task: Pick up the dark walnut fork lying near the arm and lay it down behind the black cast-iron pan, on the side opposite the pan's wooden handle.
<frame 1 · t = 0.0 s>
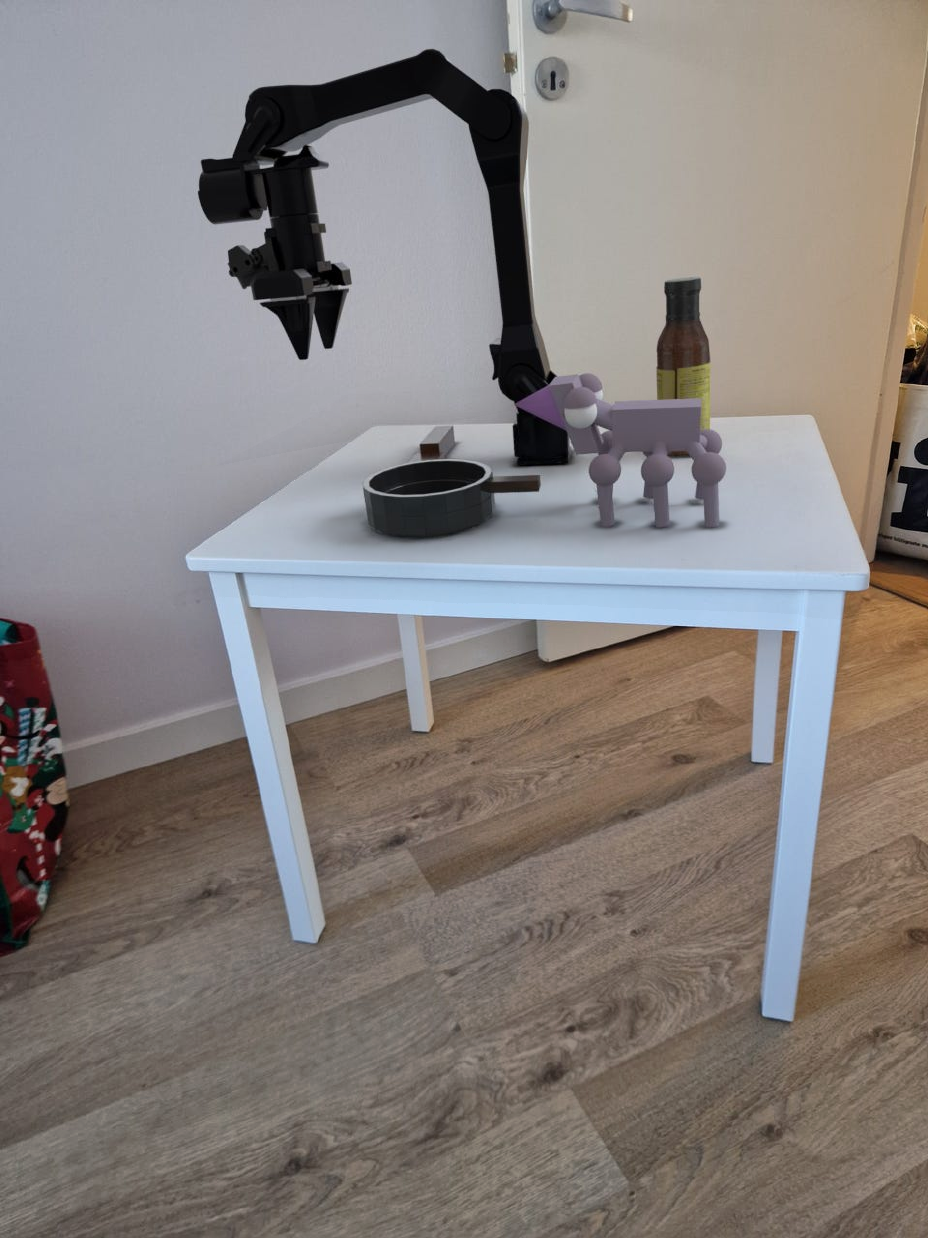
hand: (316, 353, 99), 15 cm above the table, tool pointing down, fingers open, 9 cm apart
fork: (435, 456, 106), on the table
pan handle: (515, 483, 80), point 3 cm above the table
toy sheep: (618, 515, 79), on the table
sauce bottle: (681, 452, 98), on the table
pan: (431, 517, 83), on the table
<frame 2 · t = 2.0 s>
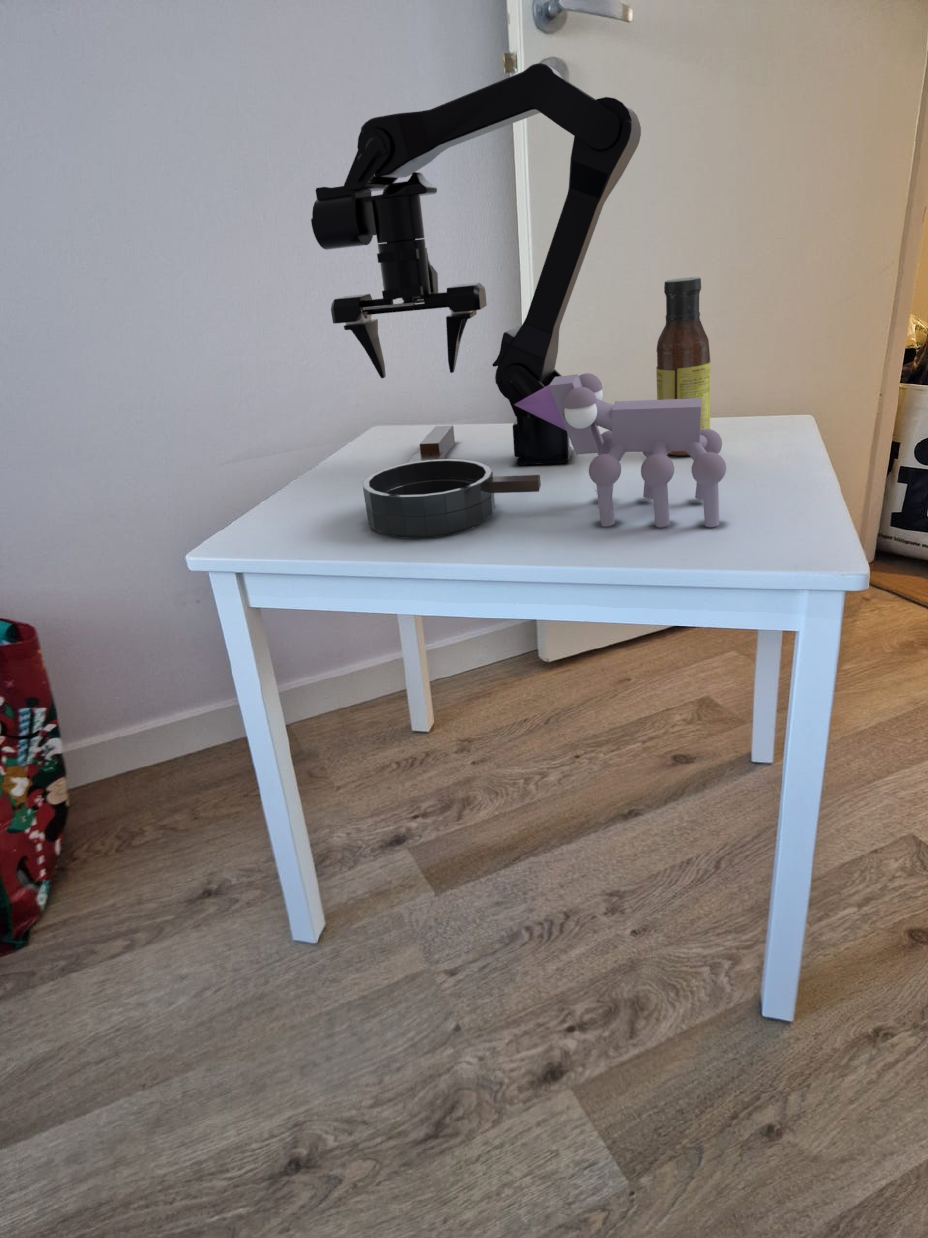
hand: (417, 374, 101), 11 cm above the table, tool pointing down, fingers open, 9 cm apart
nothing on the table moved.
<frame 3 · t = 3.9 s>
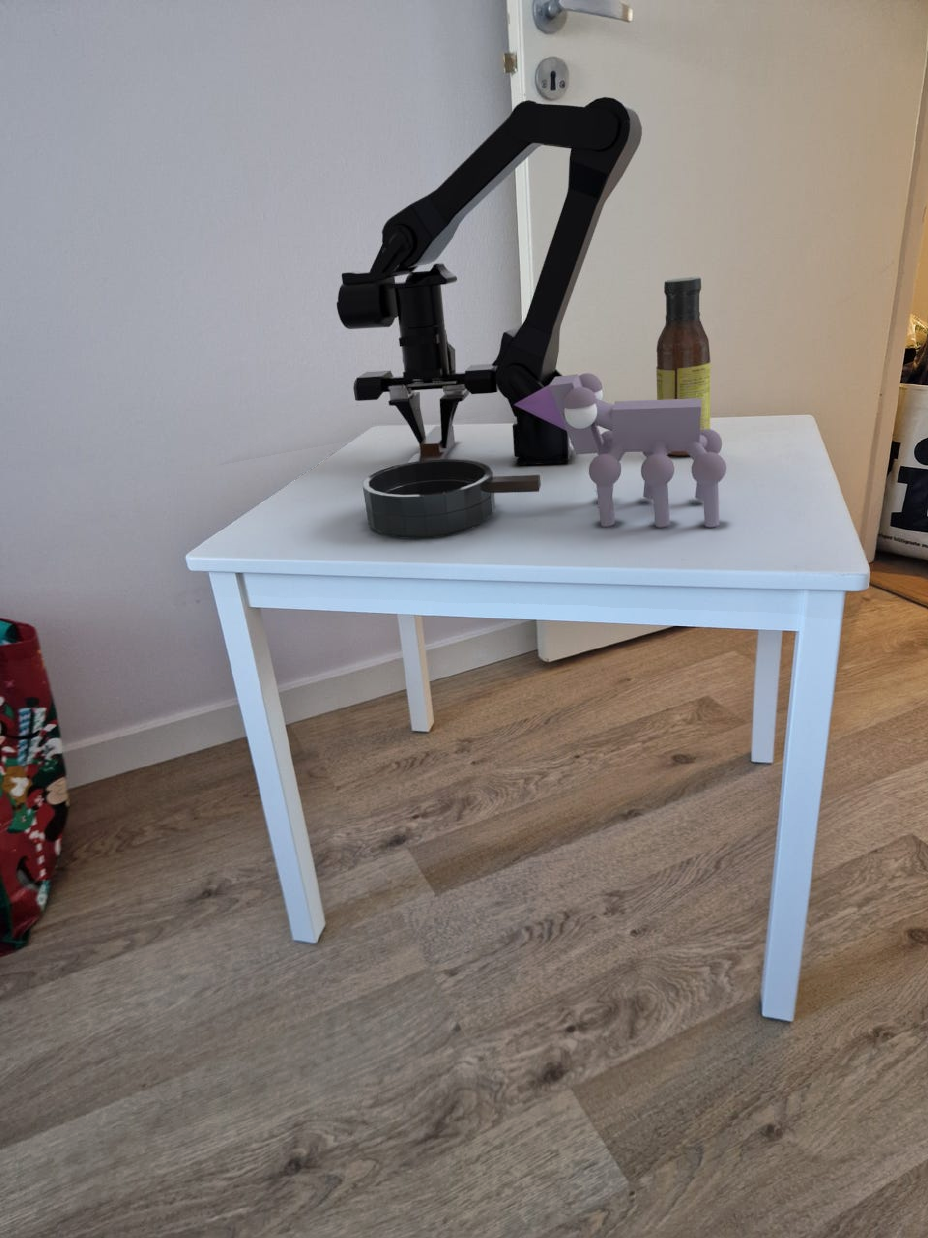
hand: (435, 447, 105), 1 cm above the table, tool pointing down, fingers closed on fork, 2 cm apart
fork: (435, 456, 106), on the table, touching gripper
everything else where it was.
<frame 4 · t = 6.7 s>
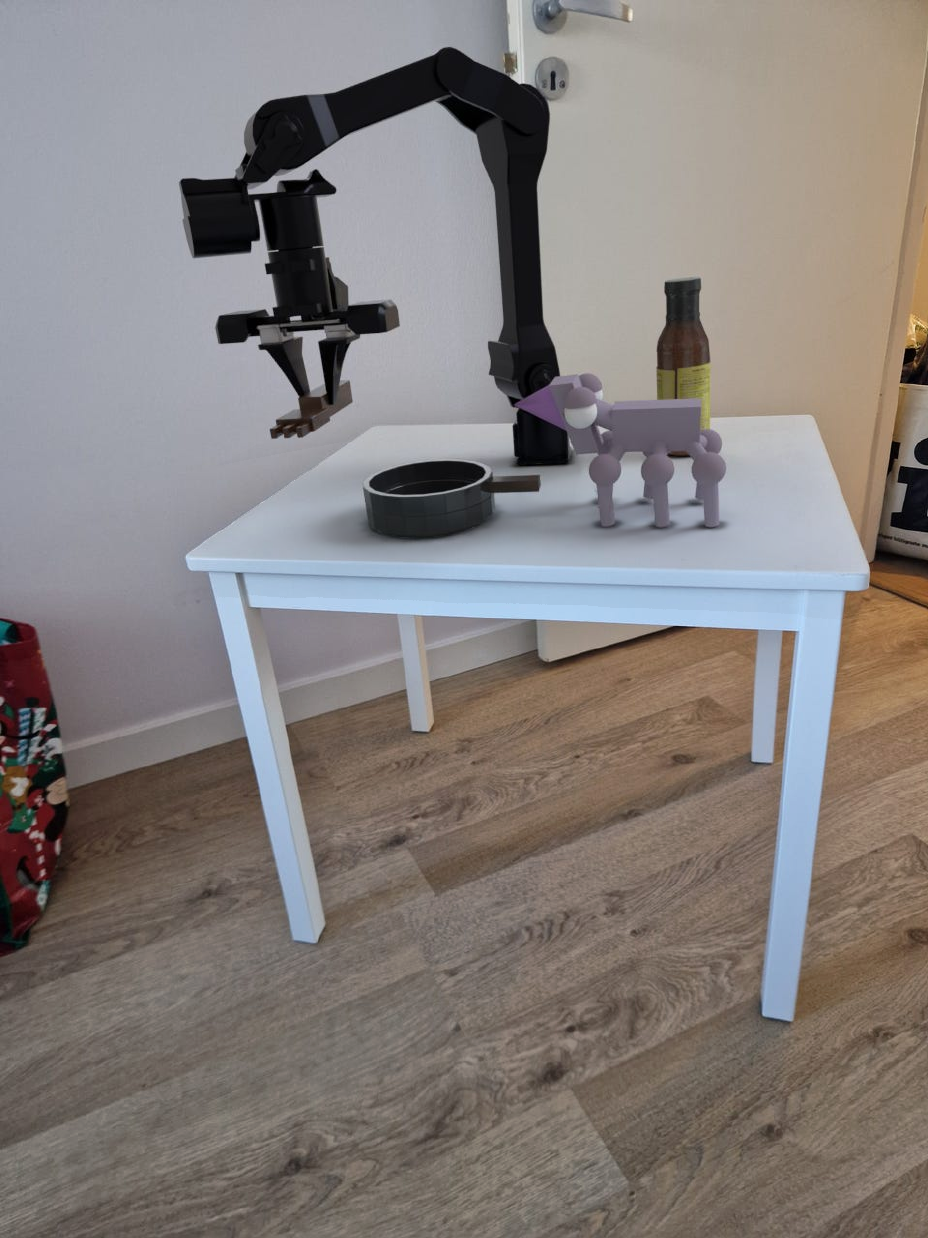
hand: (320, 404, 87), 11 cm above the table, tool pointing down, fingers closed on fork, 2 cm apart
fork: (322, 415, 87), point 10 cm above the table, touching gripper
everything else where it was.
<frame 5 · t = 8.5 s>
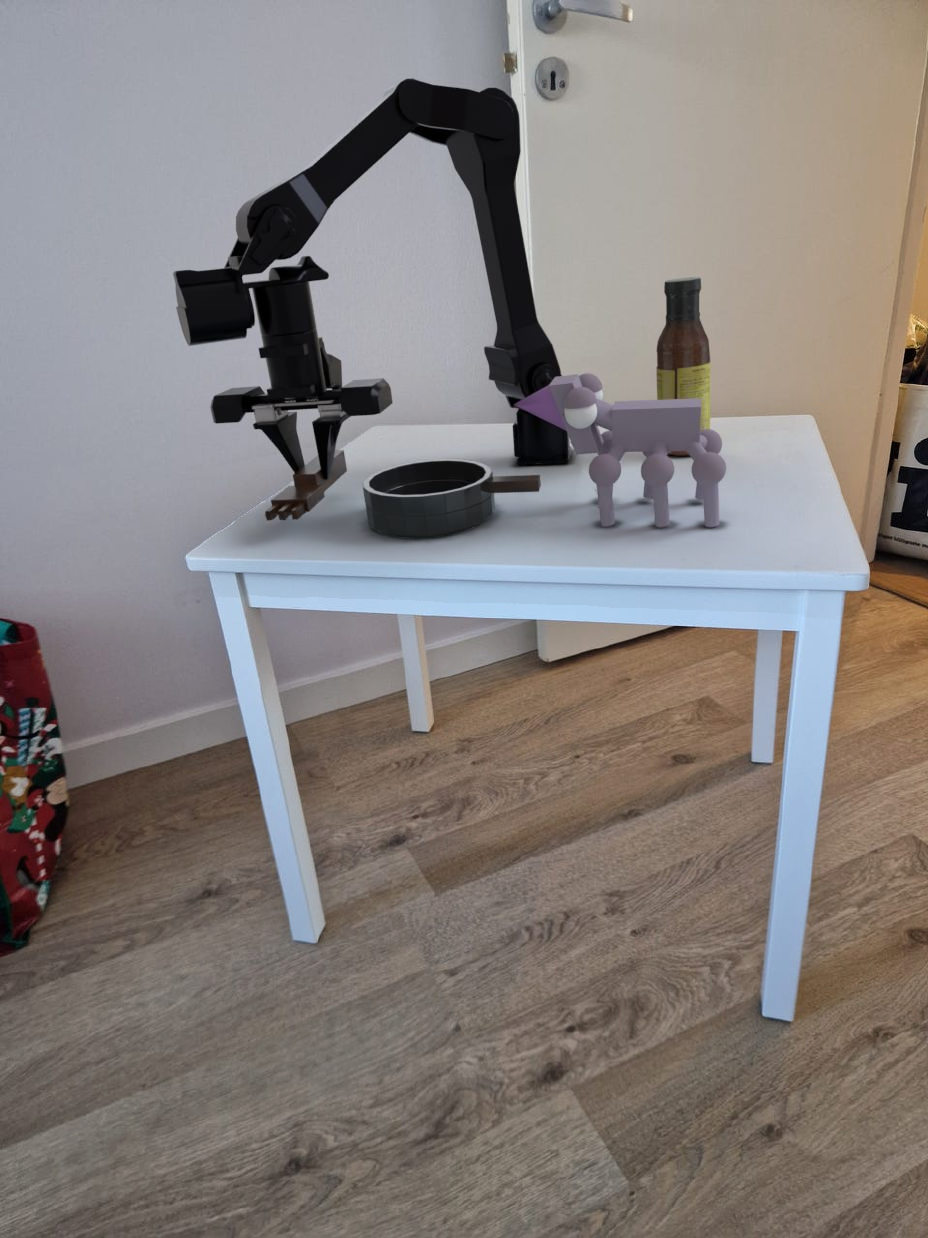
hand: (315, 478, 88), 4 cm above the table, tool pointing down, fingers closed on fork, 2 cm apart
fork: (317, 489, 88), point 2 cm above the table, touching gripper
everything else where it was.
when the fingers open (1 cm above the table, at t = 9.5 s): fork stays where it is, on the table.
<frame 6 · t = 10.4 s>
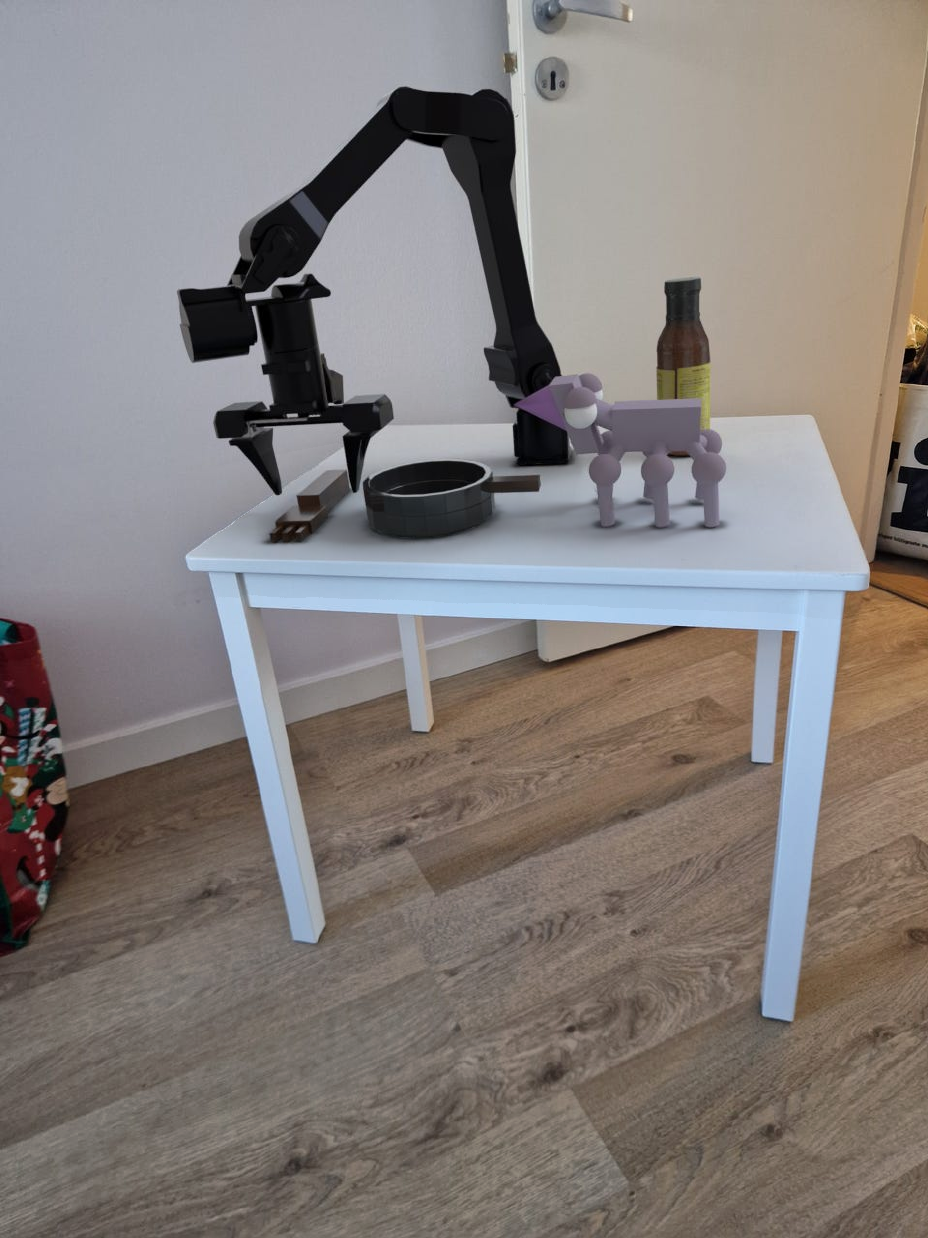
hand: (317, 493, 88), 2 cm above the table, tool pointing down, fingers open, 9 cm apart
fork: (320, 508, 89), on the table
everything else where it was.
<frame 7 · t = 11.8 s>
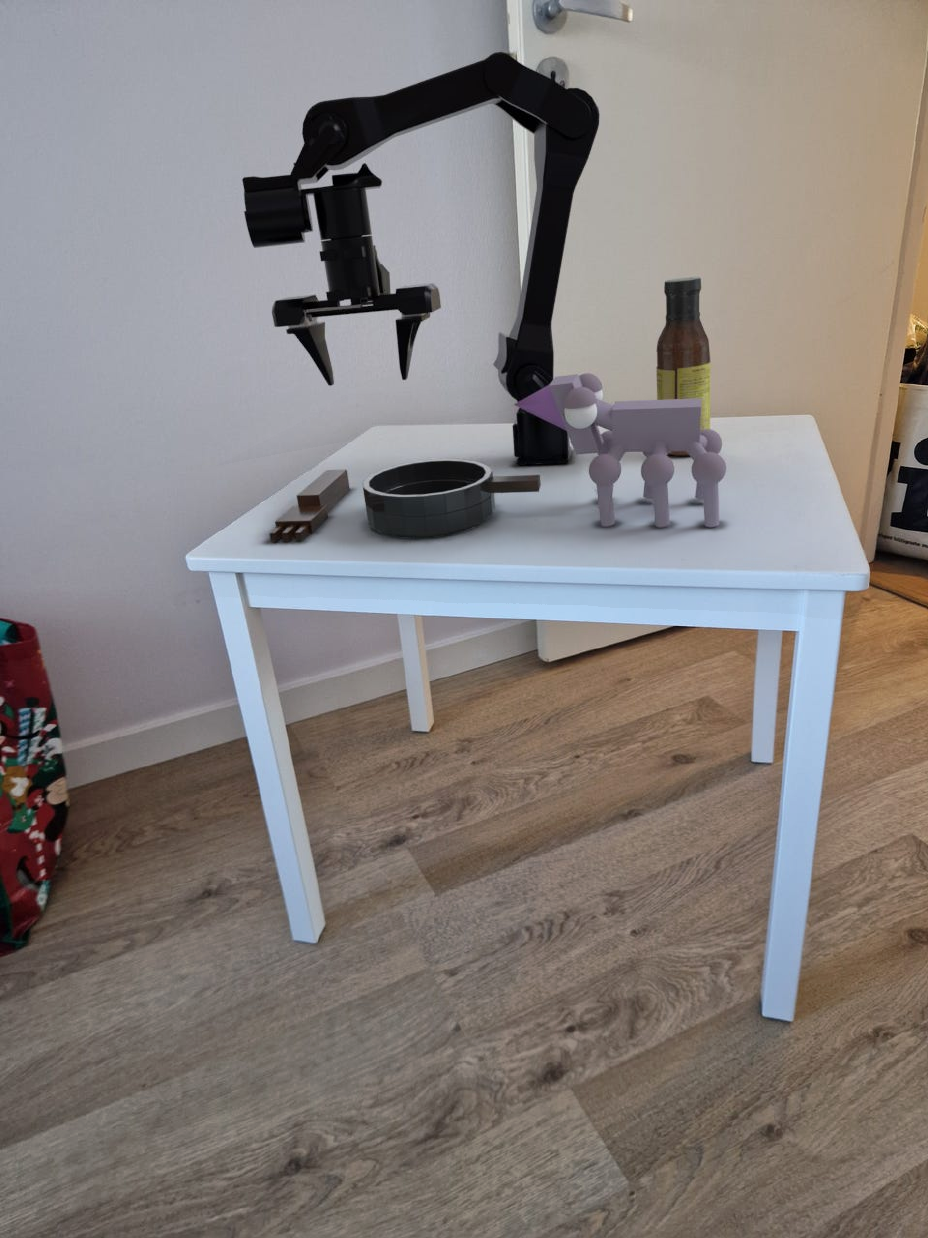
hand: (367, 382, 94), 12 cm above the table, tool pointing down, fingers open, 9 cm apart
nothing on the table moved.
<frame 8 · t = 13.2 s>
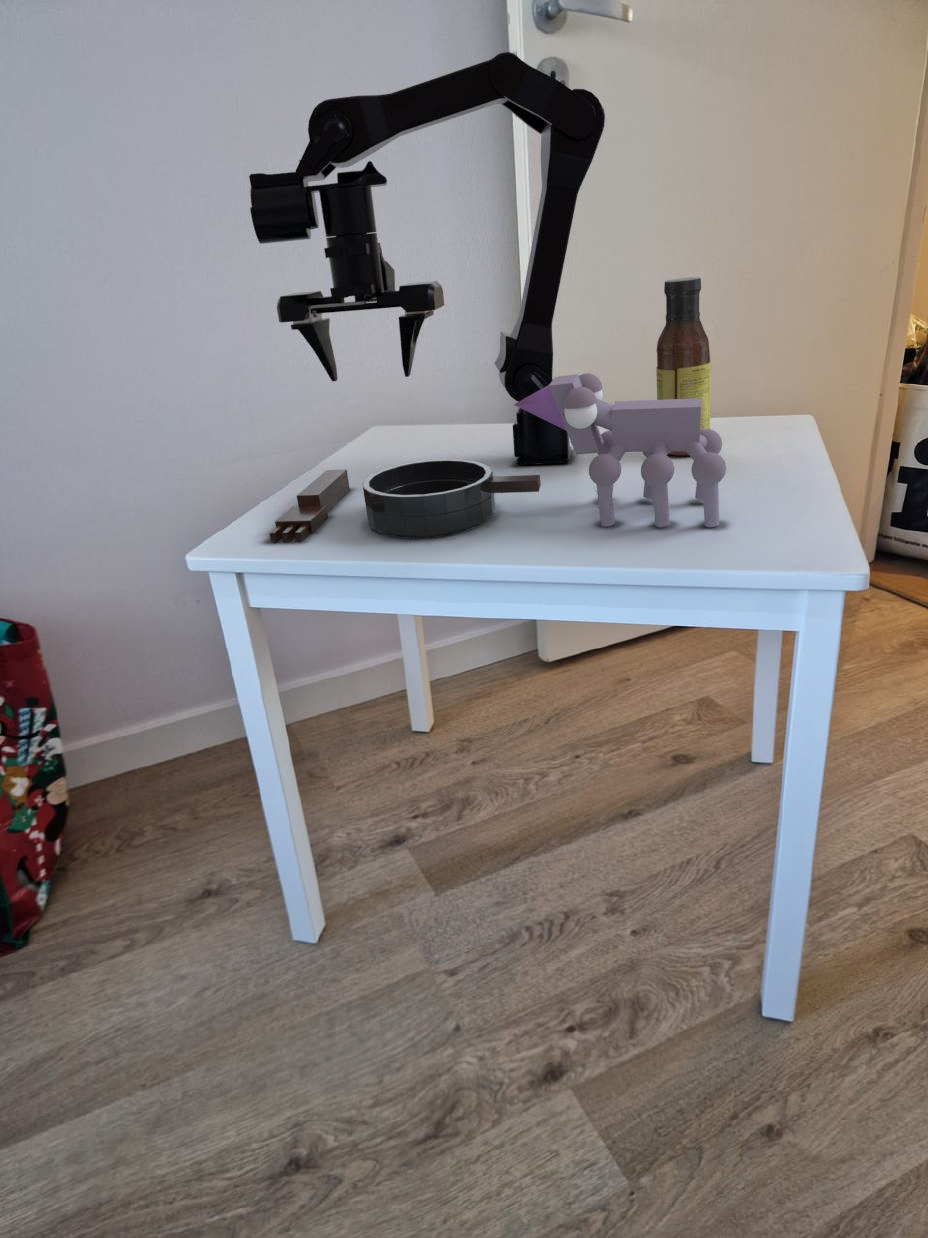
hand: (370, 378, 95), 12 cm above the table, tool pointing down, fingers open, 9 cm apart
nothing on the table moved.
at the end: fork inside the target area on the table beside the pan (3.1 cm from its centre), on the table; fork on the table; the gripper is holding nothing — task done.
